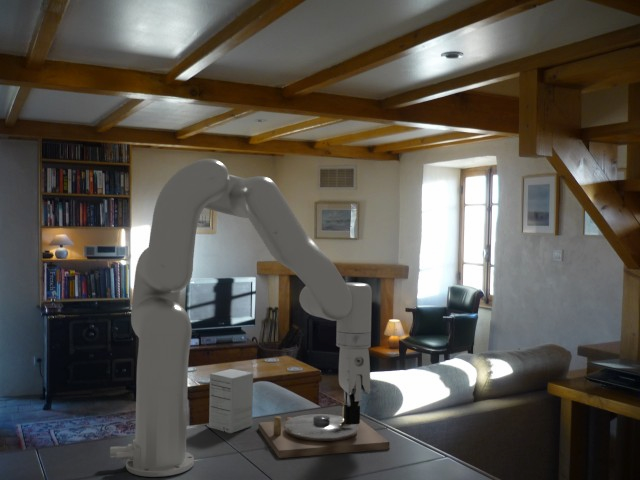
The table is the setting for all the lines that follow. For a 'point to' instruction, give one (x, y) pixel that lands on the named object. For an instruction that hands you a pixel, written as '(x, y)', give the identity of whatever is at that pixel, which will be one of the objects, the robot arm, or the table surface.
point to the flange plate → (320, 427)
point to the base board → (297, 447)
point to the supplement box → (231, 400)
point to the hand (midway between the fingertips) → (351, 423)
